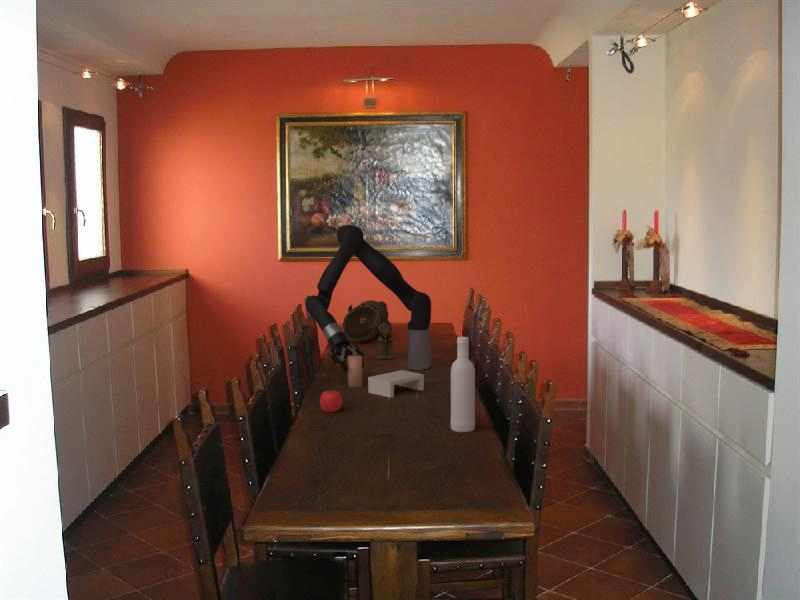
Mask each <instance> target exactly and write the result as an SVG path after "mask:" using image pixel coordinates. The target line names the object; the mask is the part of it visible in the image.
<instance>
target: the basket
mask: <svg viewBox="0 0 800 600" xmlns="http://www.w3.org/2000/svg"><path fill="white" fill-rule="evenodd" d="M387 306H388V305H387V303H386V302H385V301H376V300H366V301H361V303H360V304H358V305H357V306H354V308H353V305H352V304H350V305H349V306H348V309H347V313H346V314H345V317H344V318H343V321H342V330H343V332H344V333H345V335H346V337H347V338H348V340H352V341H355V342H366V341H369V340H370V339H372V338H373V337H374V338H375V340H377V341H378V336H379V334H380V333H381V332H380V331H379V329H378V327H379V325H380V324H382V323H384V322H386V323H388V324H390V325H391V326H392V323H391V322H390V320H389V310H388V307H387ZM392 331H393V329H392V330H391V331H390V332H392Z"/></svg>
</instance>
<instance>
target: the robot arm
mask: <svg viewBox="0 0 800 600" xmlns="http://www.w3.org/2000/svg"><path fill="white" fill-rule="evenodd" d="M336 239H337V241H338V243H339V248H338V249H337V252H336V254H335V255H334V257H333V258H332V259H331V261H330V262H329V263H328V265H327V266H326V268H325V269H324V270H323V273H322V274H321V277H320V278H319V281H318V283H317V284H316V285H317V286H316V288H317V290H318V291H317V292H318V293H317V295H315V294H314V295H310V296H308V297H307V298H306V300H305V308H306V310H307V313H308V314H309V315H310V316H311V317H312V319H313V320H314V322H316V323H317V325H318V327H319V329H320V330H321V332H322V333H323V337H324V338H325V340H326V341H327V344H328V345H329V347H330V350H328V355H329V357H330V359H331V362H332V363H333V364H334V365H336V364H337V365H339V366H340V368H341V370H342V371H343V372H348V364H346V361H344V359H348V356H349V355H361V356H362V358H363V357H365V354H364V353H363V352H362V350H361V349H360V347H359V346H358V345H357V344H354V345H350V341H349V340H350V339H349V338H348V337H347V335H345V333H344V330H343V328H342V327H341V326H340V325H339V324H338V322H337V320H336V318H335V317H334V316H333V314H332V313H330V312H329V311H328V310H329V308H330V305H331V301H332V297H333V292H334V291H335V288H336V287H337V284H338V282H339V281H340V278H341V276H342V274H343V272H344V271H345V269H346V267H347V265H348V264H349V262H350V260H351V259H352V257H353V256H355V257H356V258H357V259H358V260H359V261H360V263H361V264H363V265H364V266H365V268H366V269H367V270H368V271H369V272H370V273H371V274H372V275H373V277H375V278H376V279H377V280H378V281H379V282H380V283H381V284H382V285H383V286H385V287H386V288H387V289H388V290H389V291H391V292H392V293H393V294H394V295H395V296H396V297H397V299H399V300H400V302H401V303H402V304H403V306H404V307H405V308H406V309H407V310H408V311H410V320H409V321H408V322H407V369H408V370H411V369H412V371H424V369H426V370H429V369H430V368H431V367H432V365H431V364H432V363H431V362H432V358H431V355H432V354H431V353H432V352H431V351H432V349H431V347H432V346H431V345H430V324H431V321H432V320H431V319H432V301H431V297H430V295H429V294H427V293H426V292H422V291H419V290H417V289H415V288H414V287H413V286H412V285H410V284H409V283H408V282H407V281H406V280H405V278H404V277H403V275H402V273H401V272H400V269H399V268H398V267H397V266H396V265H395V263H393V262H392V261H391V260H390V259H389V258H388V257H387V256H386V255H384V254H383V253H381V252H380V251H379V250H377V249H375V248H374V247H373V246H371V245H370V244H368V242H367V241H366V240H365V239H364V232H363V230H362V229H361V228H360V227H359V226H356V225H351V224H344V225H341V226H340V227H338V229H337V232H336ZM429 367H430V368H429ZM364 368H365V363H364V361H363V360H362V369H364ZM428 368H429V369H428Z"/></svg>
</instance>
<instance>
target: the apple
mask: <svg viewBox="0 0 800 600" xmlns="http://www.w3.org/2000/svg"><path fill="white" fill-rule="evenodd" d="M342 403H343V397H342V395H341V393H340V391H338V390H332V388H330V389H329V390H326V391H325V390H324V391H323V392H322V394H321V395H320V396H319V404H320V408H321V410H322V411H323V412H325V413H336V412H338V411H339V410H340V409H341V408H342Z"/></svg>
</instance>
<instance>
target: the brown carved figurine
mask: <svg viewBox="0 0 800 600" xmlns="http://www.w3.org/2000/svg"><path fill="white" fill-rule="evenodd" d="M378 329H379V331H380V332H381V333H380V334H379V336H378V340H377V348H376V353H375V357H374V358H375V359H377V360H381V359H382V360H384V361H385V360H386V359H389V360H394V359H396V357H395V356H396V354H395V351H394V350H395V349H394V344H393V341H394V337H393V336H392V333H391V332H392V331H391V330H393V327H392V324H391V325H390V324H388V323H386V322H384V323H382V324H380V325H379V327H378ZM393 358H394V359H393Z"/></svg>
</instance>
